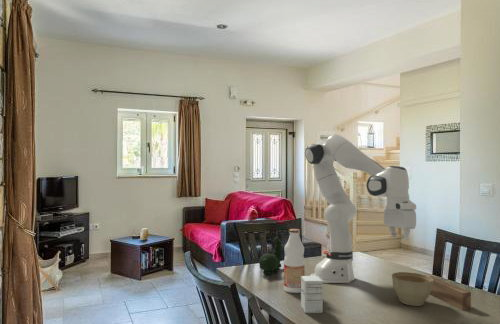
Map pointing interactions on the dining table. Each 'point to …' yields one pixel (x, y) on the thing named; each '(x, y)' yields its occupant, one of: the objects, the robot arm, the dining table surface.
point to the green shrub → (272, 259)
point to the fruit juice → (293, 262)
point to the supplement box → (311, 294)
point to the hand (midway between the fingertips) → (399, 238)
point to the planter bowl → (412, 287)
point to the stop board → (451, 294)
